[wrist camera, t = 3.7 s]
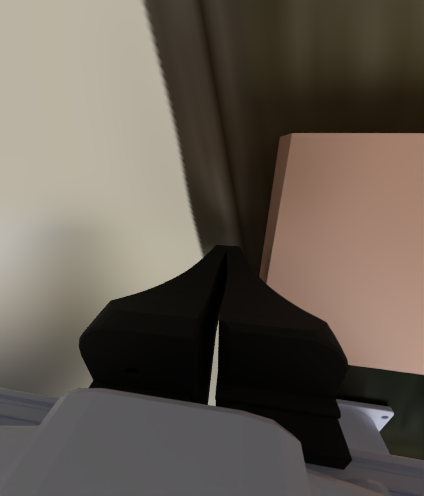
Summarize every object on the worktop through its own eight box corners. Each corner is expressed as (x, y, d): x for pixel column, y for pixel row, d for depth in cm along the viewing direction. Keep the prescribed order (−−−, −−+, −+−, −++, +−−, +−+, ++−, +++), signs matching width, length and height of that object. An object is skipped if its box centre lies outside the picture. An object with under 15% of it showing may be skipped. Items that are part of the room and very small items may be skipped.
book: (476, 340, 13) (534, 389, 11) (252, 316, 15) (254, 352, 12) (666, 138, 8) (887, 134, 5) (278, 137, 9) (292, 133, 7)
